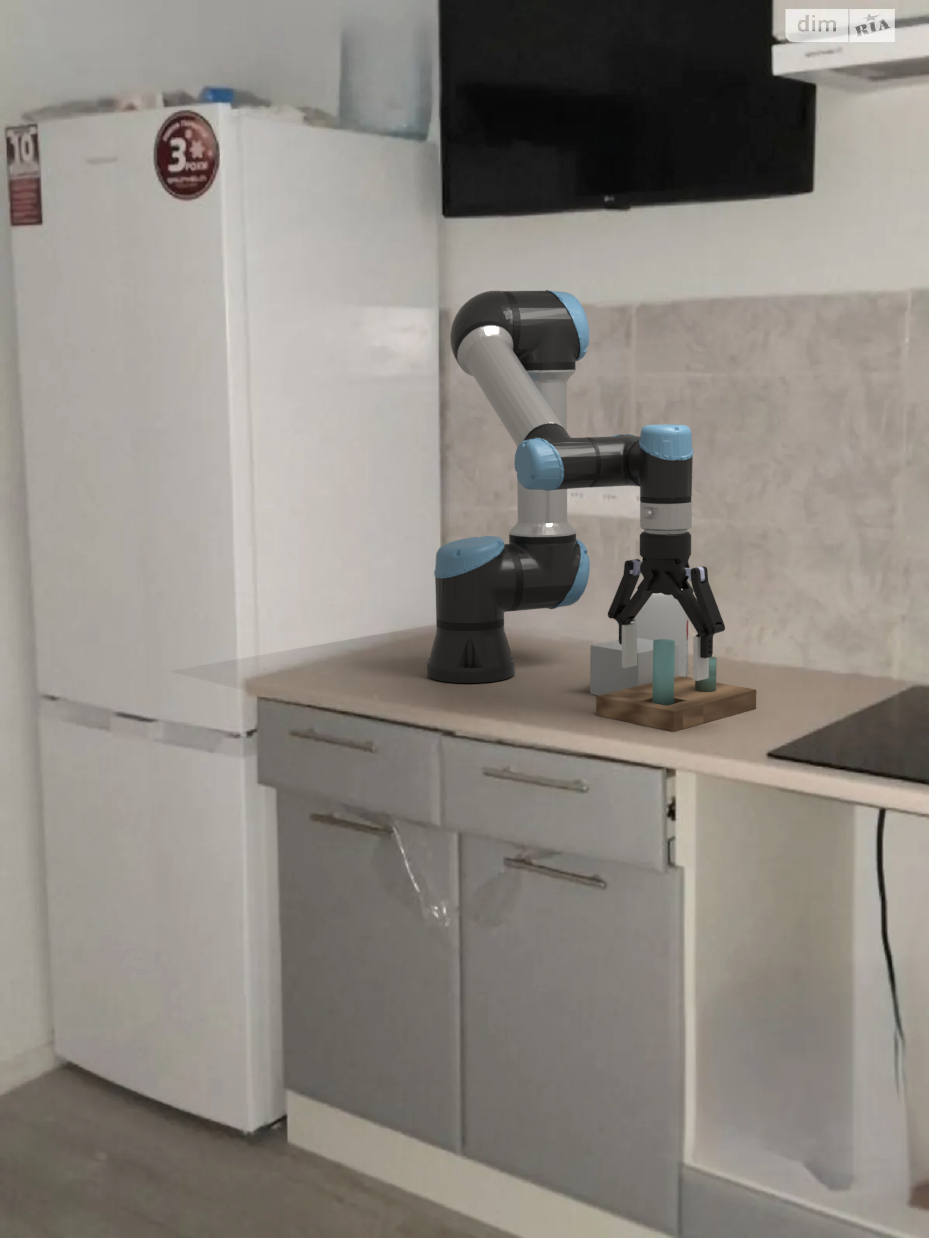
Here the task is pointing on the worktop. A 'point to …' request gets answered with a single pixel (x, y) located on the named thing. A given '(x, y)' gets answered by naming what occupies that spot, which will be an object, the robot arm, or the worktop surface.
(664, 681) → the peg
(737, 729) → the worktop surface
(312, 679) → the worktop surface
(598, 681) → the grey square block
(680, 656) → the supplement box
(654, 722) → the board
